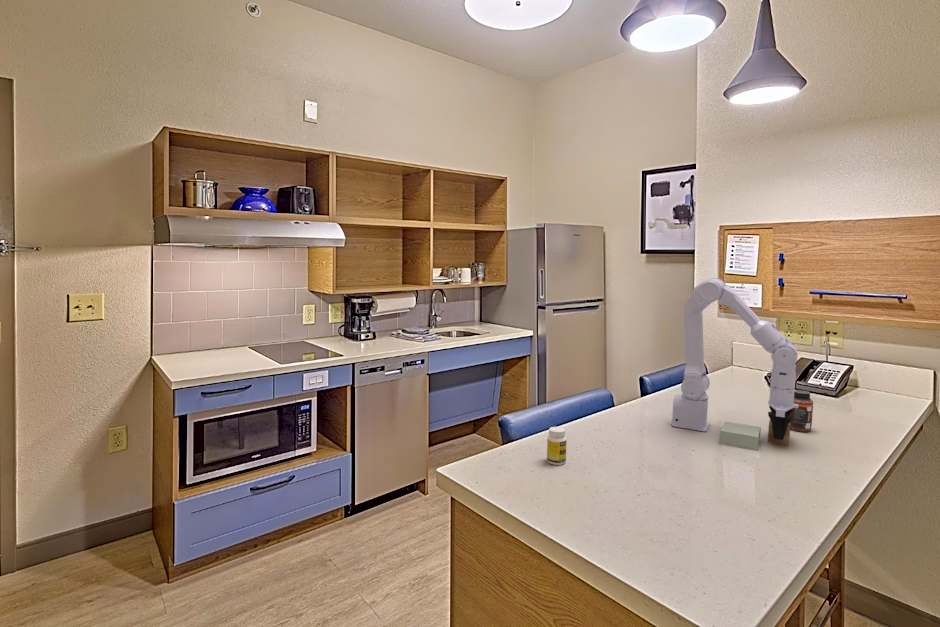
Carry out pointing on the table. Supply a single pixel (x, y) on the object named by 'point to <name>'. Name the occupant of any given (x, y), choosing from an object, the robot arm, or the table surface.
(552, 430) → the supplement bottle
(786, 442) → the walnut cube
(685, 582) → the table surface
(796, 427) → the supplement bottle
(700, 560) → the table surface
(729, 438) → the sage block
